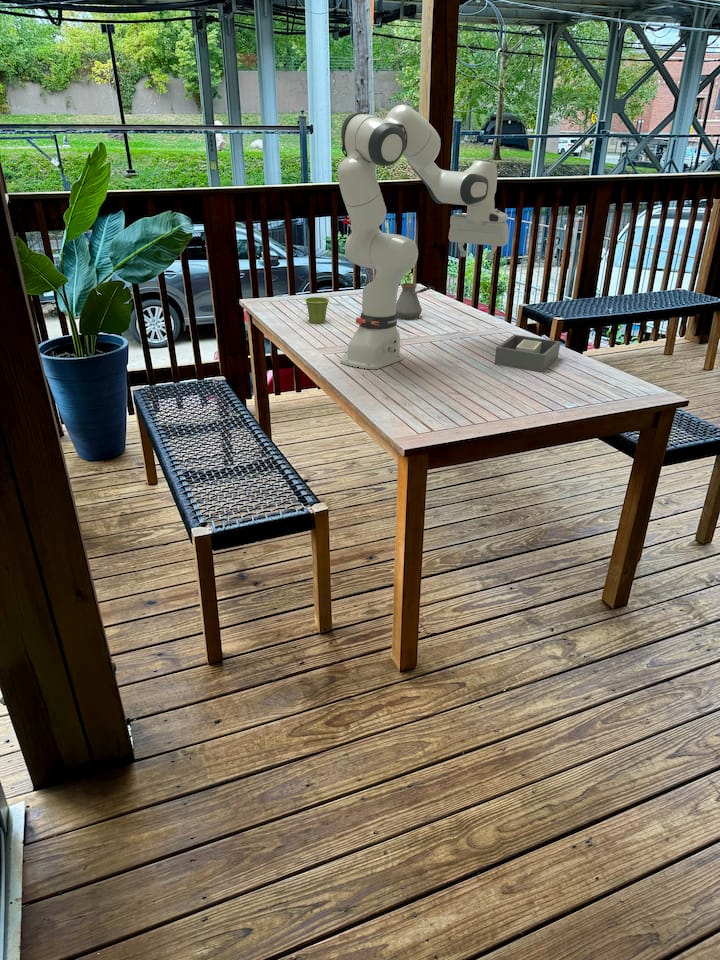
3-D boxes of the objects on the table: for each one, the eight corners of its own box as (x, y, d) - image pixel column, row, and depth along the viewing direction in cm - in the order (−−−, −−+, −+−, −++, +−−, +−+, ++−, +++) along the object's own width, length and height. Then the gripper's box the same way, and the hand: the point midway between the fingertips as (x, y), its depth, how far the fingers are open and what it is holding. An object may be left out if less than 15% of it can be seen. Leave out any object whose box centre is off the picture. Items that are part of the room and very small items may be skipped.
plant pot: (333, 322, 256) (333, 300, 252) (313, 326, 252) (312, 303, 247) (321, 317, 263) (321, 295, 259) (301, 320, 258) (300, 298, 254)
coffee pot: (388, 315, 268) (389, 278, 261) (411, 312, 273) (412, 275, 266) (418, 327, 252) (420, 288, 245) (441, 323, 257) (444, 285, 250)
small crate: (532, 364, 211) (534, 349, 209) (514, 361, 214) (516, 346, 211) (539, 356, 219) (541, 341, 217) (521, 353, 221) (523, 339, 219)
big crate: (542, 373, 206) (545, 355, 204) (494, 365, 213) (496, 347, 211) (557, 359, 220) (560, 341, 217) (512, 351, 227) (514, 334, 224)
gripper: (447, 213, 217) (444, 256, 224) (506, 217, 209) (501, 262, 215) (454, 211, 222) (451, 253, 229) (512, 215, 214) (507, 259, 220)
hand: (476, 257), depth 222 cm, fingers open, 8 cm apart
